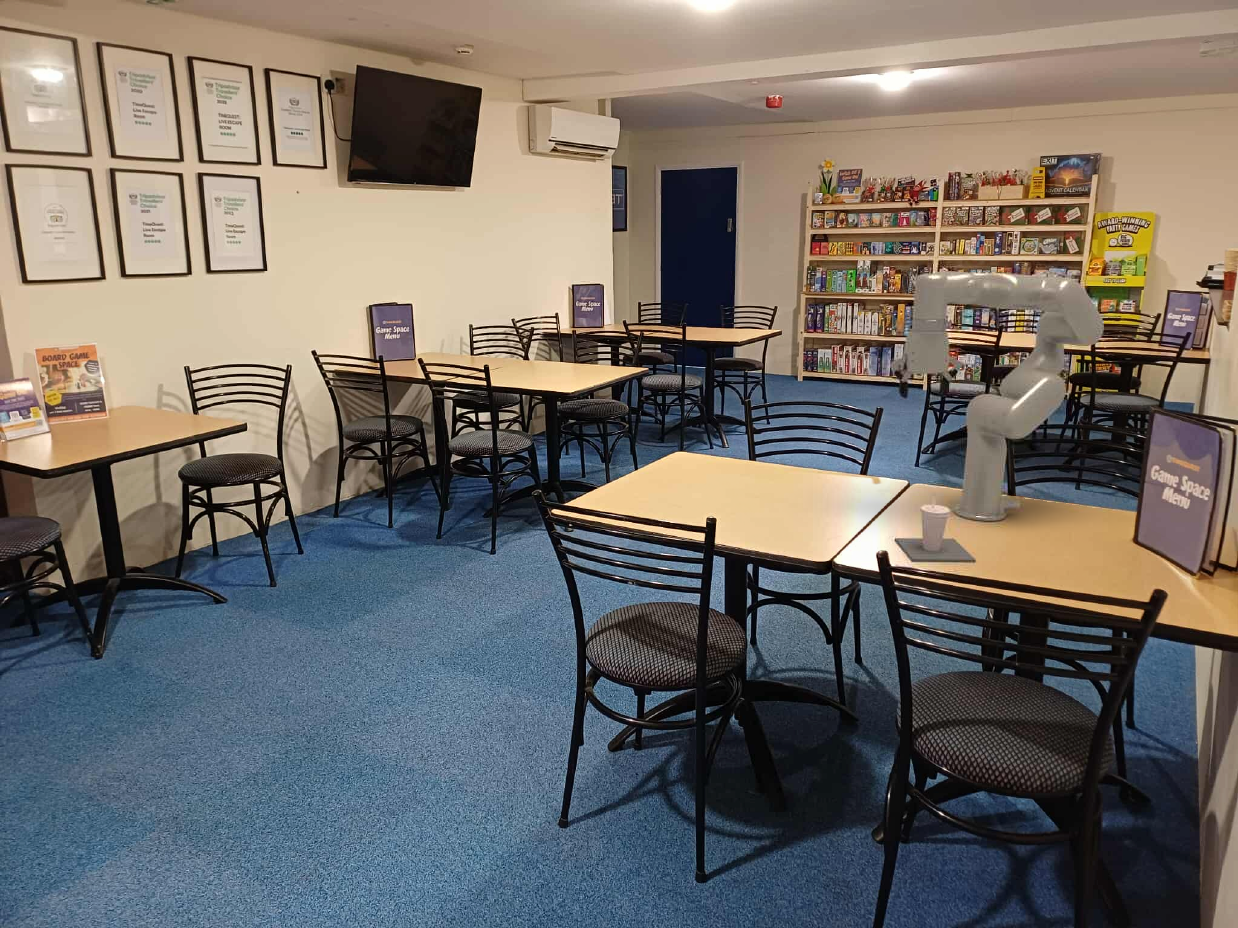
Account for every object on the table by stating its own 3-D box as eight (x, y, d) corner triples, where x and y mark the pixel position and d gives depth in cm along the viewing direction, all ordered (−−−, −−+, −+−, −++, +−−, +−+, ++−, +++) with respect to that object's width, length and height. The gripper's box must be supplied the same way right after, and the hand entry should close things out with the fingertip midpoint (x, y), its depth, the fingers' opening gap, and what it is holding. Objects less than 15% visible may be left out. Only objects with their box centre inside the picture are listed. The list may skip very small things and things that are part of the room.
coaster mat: (953, 540, 206) (953, 538, 206) (975, 562, 193) (975, 559, 193) (894, 540, 207) (894, 538, 207) (912, 561, 193) (912, 559, 193)
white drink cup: (912, 544, 203) (917, 486, 199) (938, 543, 203) (944, 486, 200) (924, 553, 196) (929, 494, 193) (951, 552, 197) (957, 494, 193)
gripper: (958, 324, 211) (952, 393, 215) (887, 325, 210) (883, 394, 215) (971, 327, 203) (964, 399, 208) (897, 328, 203) (893, 400, 208)
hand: (923, 396), depth 211 cm, fingers open, 9 cm apart
